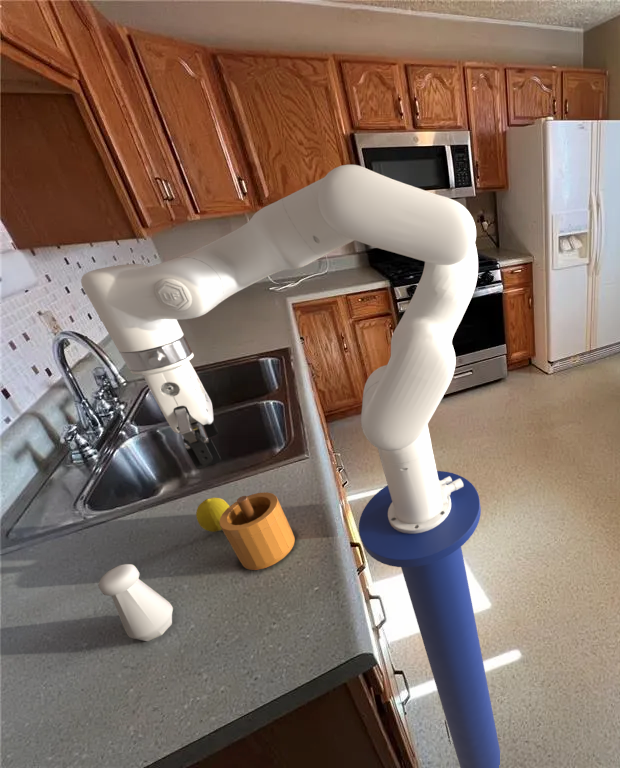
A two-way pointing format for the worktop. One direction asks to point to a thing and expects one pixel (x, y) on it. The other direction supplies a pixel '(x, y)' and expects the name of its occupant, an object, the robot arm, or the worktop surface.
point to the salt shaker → (136, 603)
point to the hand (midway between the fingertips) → (208, 450)
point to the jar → (258, 532)
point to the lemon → (211, 513)
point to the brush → (246, 509)
